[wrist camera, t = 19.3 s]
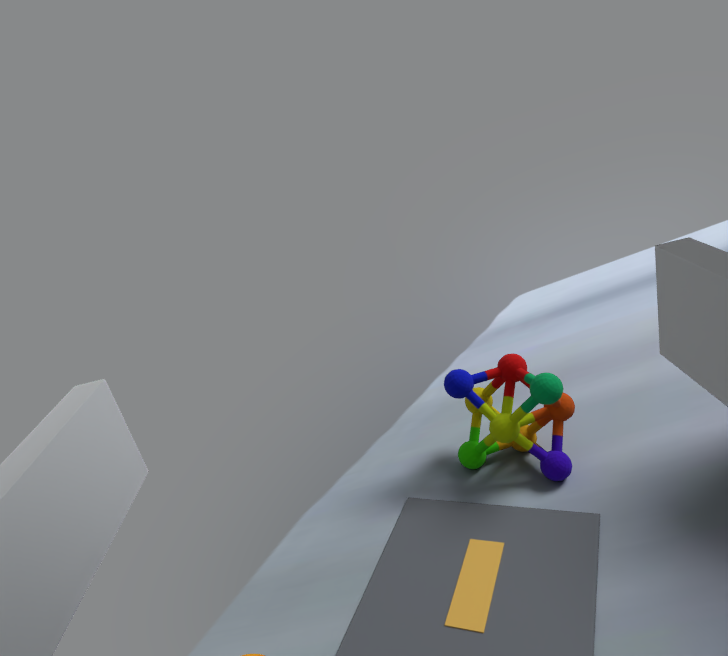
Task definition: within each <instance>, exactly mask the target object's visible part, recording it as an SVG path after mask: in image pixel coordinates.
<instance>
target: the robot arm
mask: <svg viewBox="0 0 728 656" xmlns="http://www.w3.org/2000/svg"><path fill="white" fill-rule="evenodd" d="M655 258H656V279H657V300H658V322H659V343H660V354H661V355H663V356H664V357H665V358H666V359H668V360H669V361H670V362H671V363H673V364H674V365H675V366H677V367H678V368H679V369H680V370H682V371H683V372H684V373H685V374H687V375H688V376H689V377H691V378H692V379H693V380H694V381H696V382H697V383H698V384H699V385H701V386H702V387H703V388H704V389H706V390H707V391H708V392H710V393H711V394H712V395H713V396H715V397H716V398H717V399H718V400H720V401H721V402H722V403H723V404H725V405H726V406H727V407H728V252H725V251H723V250H720V249H717V248H715V247H712V246H710V245H707V244H705V243H702V242H699V241H697V240H694V239H692V238H685V239H681V240H676V241H672V242H668V243H664V244H660V245H656V246H655ZM148 472H149V471H148V469H147V467H146V465H145V463H144V461H143V459H142V456H141V454H140V452H139V450H138V448H137V446H136V444H135V442H134V439H133V437H132V435H131V433H130V431H129V429H128V427H127V425H126V423H125V420H124V418H123V416H122V414H121V412H120V410H119V408H118V406H117V403H116V401H115V399H114V397H113V395H112V393H111V391H110V389H109V387H108V384H107V382H106V380H105V379H102V380H97V381H93V382H89V383H85V384H81V385H77V386H74V387H73V388H72V389H71V390H70V391H69V392H68V393H67V395H66V396H65V397H64V398H63V399H62V400H61V401H60V402H59V403H58V404H57V405H56V406H55V407H54V408H53V409H52V411H50V413H49V414H48V415H47V416H46V417H45V418H44V419H43V420H42V421H41V422H40V423H39V424H38V425H37V426H36V427H35V429H34V430H33V431H32V432H31V433H30V434H29V435H28V436H27V437H26V438H25V439H24V440H23V441H22V442H21V443H20V445H18V447H17V448H16V449H15V450H14V451H13V452H12V453H11V454H10V455H9V456H8V457H7V458H6V459H5V460H4V461H3V462H2V463H1V465H0V656H52V655H53V653H54V652H55V650H56V648H57V646H58V644H59V642H60V640H61V638H62V636H63V634H64V632H65V631H66V629H67V626H68V625H69V623H70V621H71V619H72V617H73V615H74V613H75V611H76V609H77V607H78V606H79V604H80V602H81V600H82V598H83V596H84V594H85V592H86V590H87V588H88V587H89V585H90V583H91V581H92V579H93V577H94V575H95V573H96V571H97V569H98V567H99V565H100V564H101V562H102V560H103V558H104V556H105V554H106V552H107V550H108V548H109V546H110V544H111V543H112V541H113V539H114V537H115V535H116V533H117V531H118V529H119V527H120V525H121V523H122V521H123V520H124V518H125V516H126V514H127V512H128V510H129V508H130V506H131V504H132V502H133V501H134V498H135V497H136V495H137V493H138V491H139V489H140V487H141V485H142V483H143V481H144V479H145V478H146V476H147V474H148Z"/></svg>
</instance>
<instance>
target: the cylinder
mask: <svg viewBox="0 0 728 656" xmlns="http://www.w3.org/2000/svg"><path fill="white" fill-rule="evenodd" d="M242 656H264V655H260V654H246V655H242Z"/></svg>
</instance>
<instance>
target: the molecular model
mask: <svg viewBox="0 0 728 656" xmlns="http://www.w3.org/2000/svg"><path fill="white" fill-rule="evenodd" d="M494 378H495V379H494ZM490 379H494V380H493V381H492V382H491V383H490V384H489V385H488V386H487V387H486V388H485V389H484V388H480V387H478V388H473V387H474V384H477V383H480V382H484V381H487V380H490ZM518 381H521V382H522V383H523V384H524V385H526V386H527V387H528V388H529V389H530V393H531V396H530V397H529V398H528V399H527V400H526V401H525V402H524V403H523V404H522V405H521V406H520V407H519V408H518V409H517V410H516V411H515V412H514V413H513V414H512V406H513V398H514V389H515V382H518ZM504 382H505V389H504V397H503V404H502V412H501V413H499V412H498V411H497V410H496V409H495V408H494V407H492V404H493V400H492V396H491V395H492V394H493V393H494V392H495V391H496V390H497V389H498V388H499V387H500V386H501V385H502V384H503V383H504ZM444 387H445V390H446V392H447V393H448V394H449V395H450V396H452V397H454V398H464V397H465V404H466V407H467V408H468V410H469V411H470V412H471V413H473V415H472V423H471V431H470V439H469V441H468V442H465V443H464V444H462V446H461V447H460V448H459V452H458V457H459V461H460V462H461V464H462V465H463V466H464V467H466V468H469V469H477V468H479V467H481V466H482V465H483V464H484V462H485V460H486V455H488V454H491V453H494V452H497V451H500V450H503V449H506V448H508V447H511V446H512V447H513V448H514V449H515V450H518V451H520V452H526V451H528V452H530V453H531V454H532V455H534V456H535V457H537V458H538V459H539V460H541V462H540V467H541V470H542V473H543V474H544V475H545V476H546V477H547V478H548V479H550V480H553V481H561V480H564V479H565V478H567V477H568V476H569V475H570V473H571V469H572V463H571V460H570V458H569V457H568V456H567V455H566V454H565V453H563V452H562V441H563V421H566V420H567V419H569V418H570V417H572V415H573V413H574V409H575V405H574V401H573V400H572V398H571V397H570V396H569V395H567V394H565V393H563V385H562V382H561V381H560V379H559V378H558V377H557V376H555V375H554V374H551V373H541V374H539V375H536V376H534V375H533V374H531V373H529V372H527V365H526V362H525V360H524V359H523V358H522V357H521V356H519V355H517V354H507V355H505V356H503V357H502V358H501V359H500V360H499V362H498V367H497V368H494V369H490V370H487V371H484V372H480V373H477V374H474V375H470V374H469V373H468V372H467V371H465V370H461V369H457V370H452V371H451V372H450V373H449V374H447V376H446V377H445V381H444ZM538 403H540V404H544V408H541V409H538V410H536V411H533V412H531V413H529V412H530V411H531V410H532V409H533V408H534V407H535V406H536V405H537V404H538ZM482 414H483V415H485V416H486V417H487V418H488V419H489V420H490V421H491V422H490V427H489V430H490V434H489V435H488V436H487V437H485V438H484V439H483V440H482V441H481V442H480V443H478V442H479V434H480V425H481V417H482ZM511 414H512V415H511ZM551 420H553V433H552V451H549V452H547V451H545V450H544V449H543V448H542V447H540V446H539V445H538V444H537V443H536V441H537V436H536V432H537V431H538V430H540V429H541V428H542V427H543V426H545V425H546V424H547V423H548V422H550V421H551ZM530 423H532V424H531V425H528V424H530ZM496 441H497V442H496Z"/></svg>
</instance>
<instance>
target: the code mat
mask: <svg viewBox="0 0 728 656" xmlns="http://www.w3.org/2000/svg"><path fill="white" fill-rule="evenodd" d="M599 526H600V514H594V513H582V512H570V511H559V510H547V509H535V508H524V507H512V506H500V505H489V504H477V503H465V502H454V501H442V500H430V499H419V498H408V499H407V501H406V503H405V506H404V508H403V510H402V512H401V514H400V516H399V519H398V521H397V523H396V525H395V527H394V530H393V532H392V534H391V536H390V538H389V541H388V543H387V545H386V547H385V549H384V551H383V554H382V556H381V558H380V560H379V562H378V565H377V567H376V569H375V571H374V573H373V576H372V578H371V580H370V582H369V584H368V586H367V589H366V591H365V593H364V595H363V597H362V600H361V602H360V604H359V606H358V608H357V611H356V613H355V615H354V617H353V619H352V621H351V624H350V626H349V628H348V630H347V632H346V635H345V637H344V639H343V641H342V643H341V646H340V648H339V650H338V652H337V654H336V656H594V634H595V612H596V591H597V569H598V548H599Z"/></svg>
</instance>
